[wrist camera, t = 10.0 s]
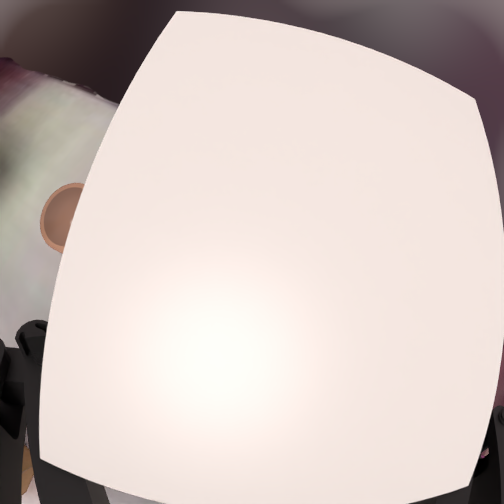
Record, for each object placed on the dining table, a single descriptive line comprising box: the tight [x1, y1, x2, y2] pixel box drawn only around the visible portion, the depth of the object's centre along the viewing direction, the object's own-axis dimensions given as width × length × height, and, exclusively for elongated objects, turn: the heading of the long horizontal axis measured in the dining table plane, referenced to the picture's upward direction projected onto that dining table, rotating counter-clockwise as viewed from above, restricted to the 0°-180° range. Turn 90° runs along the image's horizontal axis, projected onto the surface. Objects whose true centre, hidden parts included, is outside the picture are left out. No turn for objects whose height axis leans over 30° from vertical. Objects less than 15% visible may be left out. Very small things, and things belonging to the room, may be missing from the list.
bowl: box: [40, 183, 85, 254], centre depth 28 cm, size 7×7×5 cm
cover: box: [39, 11, 504, 504], centre depth 12 cm, size 10×12×12 cm
